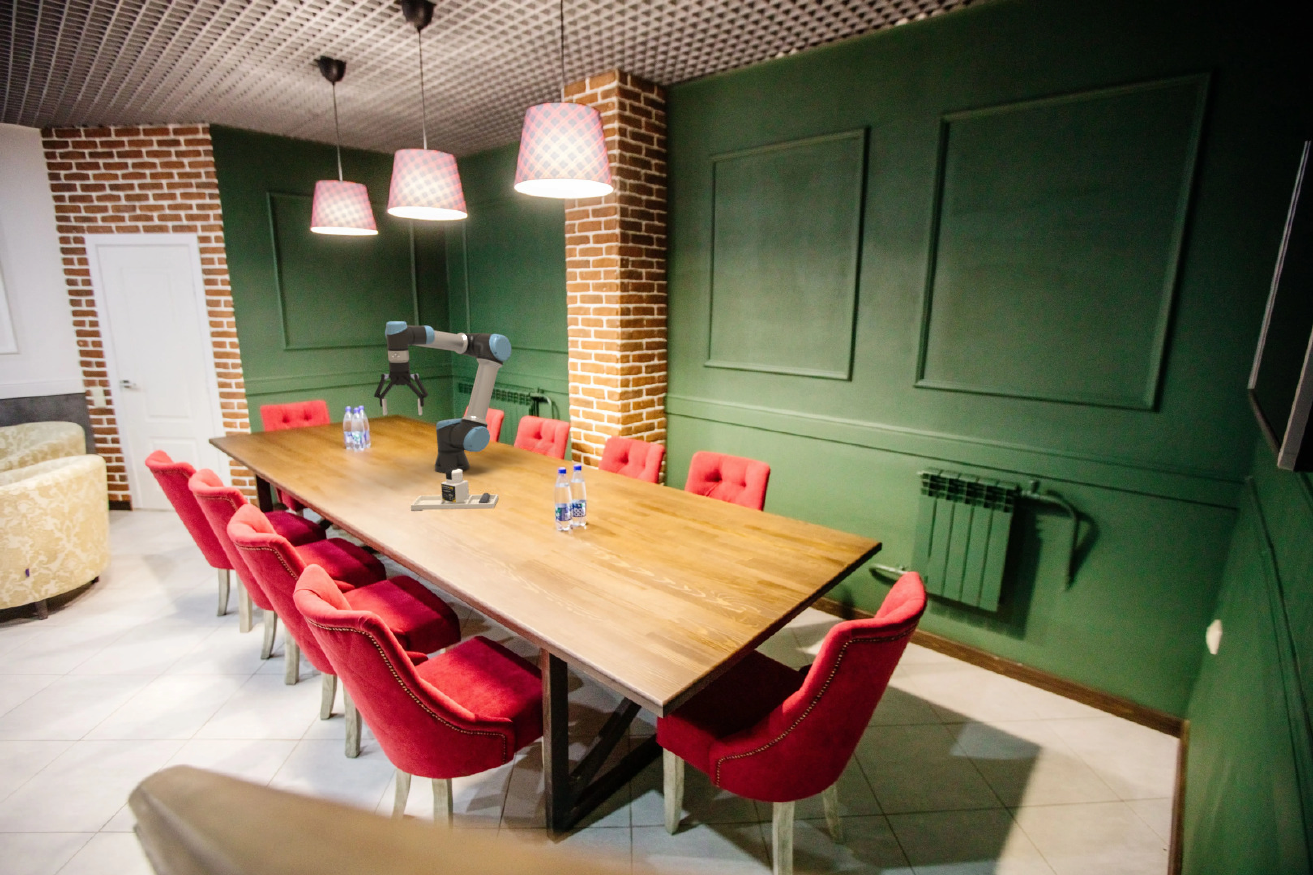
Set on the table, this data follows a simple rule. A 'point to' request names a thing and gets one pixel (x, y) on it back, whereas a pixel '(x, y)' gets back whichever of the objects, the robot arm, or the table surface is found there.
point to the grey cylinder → (485, 498)
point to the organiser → (438, 503)
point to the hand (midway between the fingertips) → (403, 414)
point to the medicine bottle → (454, 486)
